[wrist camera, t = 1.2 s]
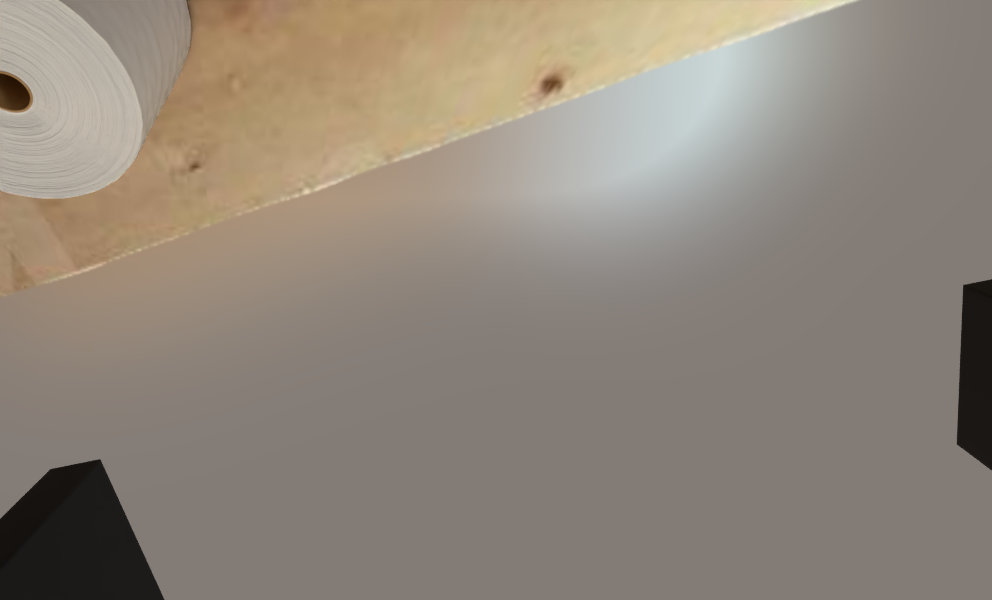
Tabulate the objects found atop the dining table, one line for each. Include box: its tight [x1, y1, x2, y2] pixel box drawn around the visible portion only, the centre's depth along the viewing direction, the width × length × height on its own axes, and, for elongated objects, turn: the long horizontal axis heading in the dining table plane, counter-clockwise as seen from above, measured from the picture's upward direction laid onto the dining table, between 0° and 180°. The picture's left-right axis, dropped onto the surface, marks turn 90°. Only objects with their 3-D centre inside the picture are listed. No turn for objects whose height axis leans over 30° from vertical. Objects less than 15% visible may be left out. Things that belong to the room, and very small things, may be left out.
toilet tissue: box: [0, 0, 191, 198], centre depth 32 cm, size 11×12×10 cm
